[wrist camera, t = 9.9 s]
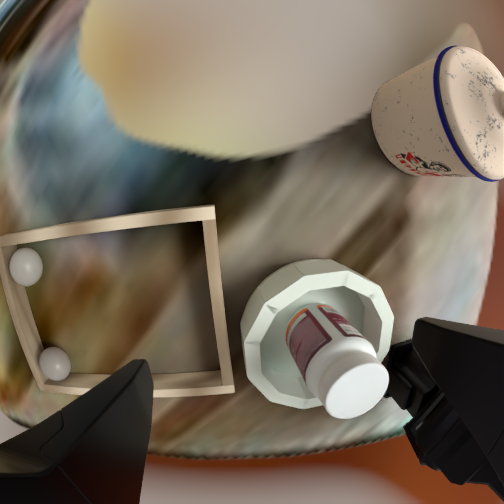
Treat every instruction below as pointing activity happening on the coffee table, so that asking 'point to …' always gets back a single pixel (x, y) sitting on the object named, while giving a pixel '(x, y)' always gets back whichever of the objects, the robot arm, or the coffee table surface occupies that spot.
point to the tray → (79, 384)
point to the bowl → (287, 304)
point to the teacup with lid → (444, 117)
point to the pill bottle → (335, 361)
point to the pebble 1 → (26, 266)
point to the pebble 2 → (55, 363)
